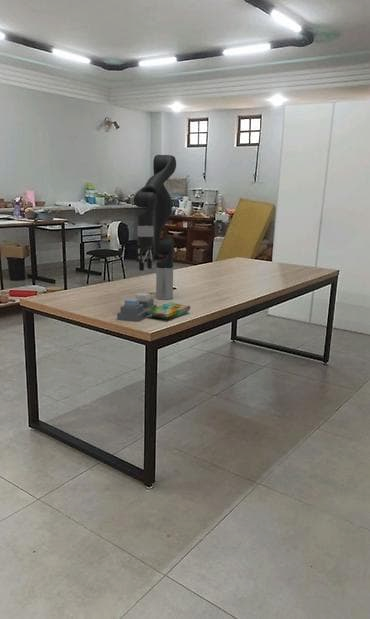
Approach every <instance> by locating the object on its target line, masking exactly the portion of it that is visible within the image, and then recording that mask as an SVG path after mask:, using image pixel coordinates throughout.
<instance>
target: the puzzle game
mask: <svg viewBox="0 0 370 619" xmlns="http://www.w3.org/2000/svg"><path fill="white" fill-rule="evenodd" d="M190 310H191V306H190V305H187V304H180V303H175V302H167V303H165V304H162V305H157V307H155V308H152V309H149V310H146V313H147V314H151V316H152V317H153V318H158V319H163V320H172V319H175V318H178V317H180V316H183V315H186V314H187V313H189V311H190Z"/></svg>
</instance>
